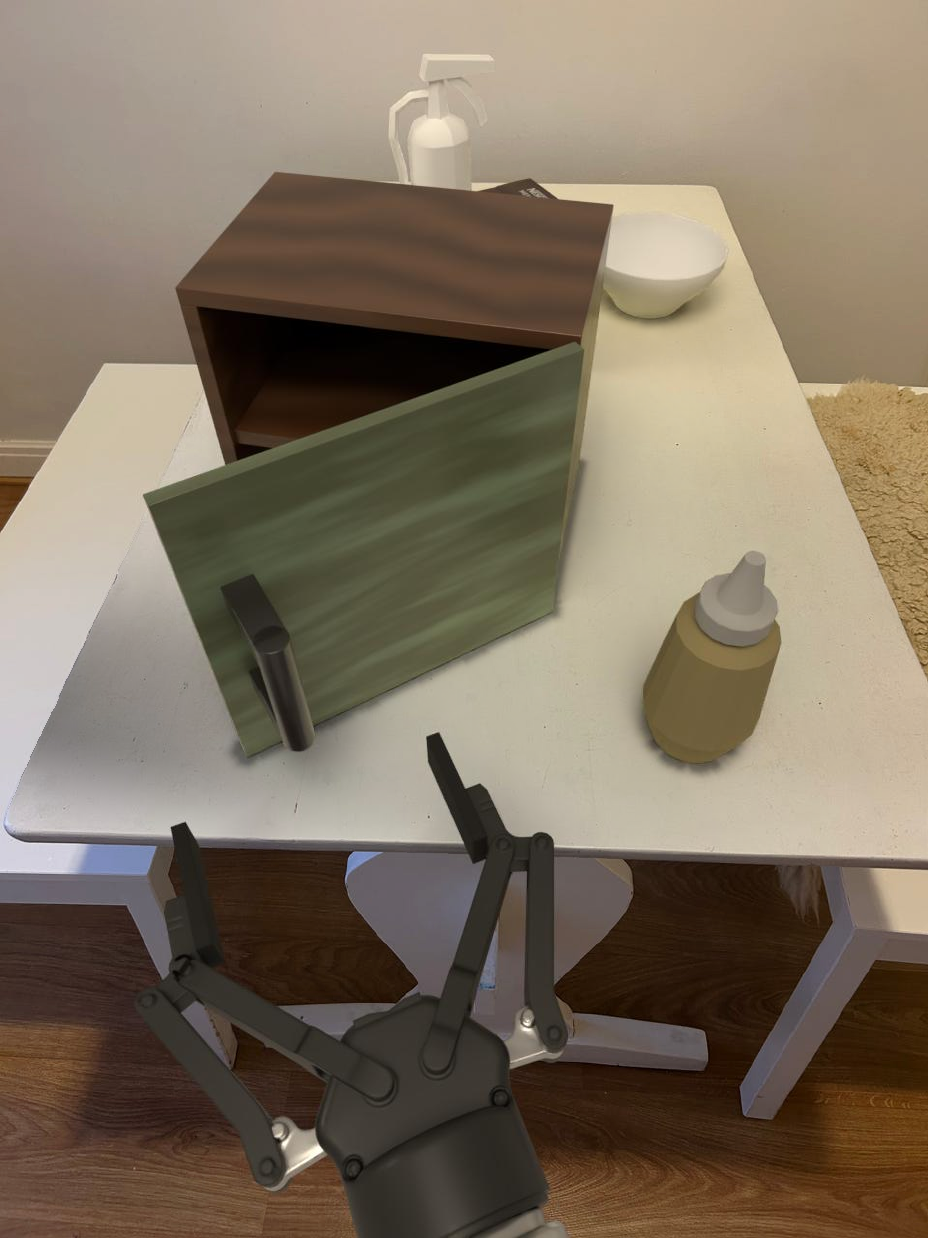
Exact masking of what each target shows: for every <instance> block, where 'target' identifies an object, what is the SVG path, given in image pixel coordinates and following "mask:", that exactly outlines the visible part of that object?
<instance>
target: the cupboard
mask: <svg viewBox="0 0 928 1238" xmlns="http://www.w3.org/2000/svg"><path fill="white" fill-rule="evenodd" d="M479 191H480V190H472V191H469V190H459V189H448V188H438V187H428V186H417V185H411V184H409V185H407V184H400V183H396V182H386V181H375V180H364V179H355V178H343V177H334V176H323V175H314V174H313V175H312V174H301V173H294V172H293V173H292V172H284V171H283V172H281V171H274V172H273V173H272V175H270V177H269V178H268V179H267V180H266V181H265V183H263V185H262V186H261V187H260V189H258V191H257V192H256V193H255V194H254V195H253V197H252V198H251V199H250V200H249V201H248V202H247V204H245V206H244V207H243V208H242V209H241V211H239V212H238V214H237V215H236V216H235V217H234V218H233V220H232V221H231V222H230V223H229V224H228V225H227V226H226V228H224V230H223V231H222V233H221V234H219V236H218V237H217V238H216V239H215V241H214V242H213V243H212V244H211V245H210V246H209V247H208V249H207V250H206V251H205V252H204V254H202V255H201V256H200V258H199V259H198V260H197V261H196V262H195V264H194V265H193V266H192V267H191V268H190V269H189V270H188V272H187V273H186V274H185V275H184V277H182V279H181V280H180V281H179V282H178V284H177V285H176V286H175V287H174V289H175V292H176V296H177V299H178V303H179V307H180V311H181V313H182V317H183V321H184V324H185V329H186V332H187V335H188V338H189V342H190V346H191V350H192V353H193V357H194V359H195V363H196V367H197V371H198V374H199V377H200V380H201V385H202V388H203V391H204V395H205V399H206V402H207V406H208V409H209V413H210V415H211V416H210V417H211V421H212V424H213V427H214V432H215V434H216V437H217V441H218V445H219V448H220V452H221V455H222V458H223V462H224V465H227V464H230V463H233V462H236V461H239V460H241V459H244V458H247V457H250V456H253V455H256V454H258V453H261V452H264V451H267V450H270V449H273V448H275V447H278V446H281V445H284V444H287V443H290V442H292V441H295V440H298V439H301V438H304V437H306V436H309V435H312V434H315V433H318V432H321V431H323V430H326V429H329V428H332V427H335V426H338V425H340V424H343V423H346V422H349V421H352V420H355V419H357V418H360V417H363V416H366V415H369V414H372V413H374V412H377V411H380V410H383V409H386V408H389V407H391V406H394V405H397V404H400V403H403V402H406V401H408V400H411V399H414V398H417V397H420V396H423V395H425V394H428V393H431V392H434V391H437V390H440V389H442V388H445V387H448V386H451V385H454V384H456V383H459V382H462V381H465V380H468V379H471V378H473V377H476V376H479V375H482V374H485V373H488V372H490V371H493V370H496V369H499V368H502V367H505V366H507V365H510V364H513V363H516V362H519V361H522V360H524V359H527V358H530V357H533V356H536V355H539V354H541V353H544V352H547V351H550V350H553V349H556V348H558V347H561V346H564V345H567V344H570V343H573V342H576V343H577V344H579V345H580V346H581V347H582V348H584V358H583V366H582V375H581V383H580V391H579V399H578V407H577V415H576V423H575V432H574V440H573V448H572V456H571V464H570V472H569V480H568V489H567V497H566V505H565V513H564V521H563V529H562V537H561V546H560V554H559V560H560V559H561V553H562V549H563V544H564V539H565V536H566V535H565V534H566V531H567V524H568V520H569V516H570V512H571V511H570V510H571V505H572V500H573V497H574V496H573V495H574V491H575V486H576V480H577V476H578V472H579V467H580V461H581V453H582V447H583V440H584V432H585V425H586V424H585V423H586V416H587V408H588V401H589V393H590V386H591V379H592V371H593V363H594V356H595V349H596V342H597V341H596V340H597V335H598V334H597V333H598V327H599V318H600V311H601V303H602V298H603V297H602V296H603V290H604V288H603V282H604V274H605V267H606V259H607V252H608V244H609V237H610V229H611V221H612V216H613V213H614V204H612V203H604V202H603V203H601V202H593V201H592V202H591V201H581V200H571V199H563V198H561V199H560V198H558V199H552V198H541V197H531V196H521V195H510V194H500V193H490V192H479ZM559 562H560V561H559ZM559 562H558V564H559Z"/></svg>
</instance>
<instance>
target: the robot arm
mask: <svg viewBox="0 0 928 1238" xmlns="http://www.w3.org/2000/svg"><path fill="white" fill-rule="evenodd" d="M425 740H426V741H425V742H426V754H427V763H428V766H429V768H430V771H431V772H432V775H433V778H434V779H435V782H436V783H437V786H438V788H439V791H440V793H441V795H442V797H443V799H444V802H445V804H446V806H447V808H448V811H449V813H450V816H451V818H452V820H453V822H454V824H455V827H456V829H457V831H458V834H459V836H460V838H461V840H462V842H463V845H464V847H465V850H466V851H467V854H468V856H469V858H470V861H471V863H472V865H475V864H477V863H480V862H483V861H484V865H483V867H482V870H481V873H480V876H479V879H478V883H477V886H476V888H475V892H474V895H473V898H472V901H471V905H470V907H469V911H468V913H467V917H466V920H465V923H464V926H463V930H462V933H461V936H460V939H459V943H458V946H457V947H456V948H457V949H456V952H455V955H454V958H453V961H452V964H451V965H450V968H449V970H448V973H447V976H446V979H445V982H444V985H443V989H442V992H441V994H440V997H439V996H436V995H432V994H421V992H420V991H418V992H415V993H413V994H411V995H409V996H406V997H404V998H402V999H401V1000H400V1001H398V1002H397V1003H396V1004H395V1005H393V1006H392V1007H391V1008H389V1009H388V1010H385V1011H377V1012H370V1013H367V1014H365V1015H362V1016H360V1017H357V1018H356V1019H352V1023H353V1024H352V1025H351V1026H349V1028H348V1029H347V1030H346V1031H345V1032H344V1034H343V1035H342V1037H341V1039H340V1040H339V1039H337V1038H336V1037H334V1036H332V1035H330V1034H329V1033H327V1032H325V1031H323V1030H322V1029H320V1028H318V1027H316V1026H314V1025H310V1024H308V1023H306V1022H305V1021H302V1020H301V1019H299V1018H298V1017H296V1016H294V1015H292V1014H291V1013H289V1012H288V1011H285V1010H284V1009H283V1008H280V1007H279V1006H277V1005H276V1004H275V1003H272V1002H271V1001H269V1000H267V999H266V998H264V997H262V996H261V995H259V994H257V993H255V992H254V991H252V990H250V989H248V988H247V987H245V986H243V984H240V983H239V982H236V981H235V980H233V979H231V977H230V978H229V977H228V976H226V975H225V974H223V973H221V972H219V971H218V970H216V969H215V968H217V967H220V966H221V965H225V964H226V959H225V956H224V955H225V954H224V951H223V946H222V942H221V938H220V932H219V928H218V924H217V919H216V914H215V911H214V905H213V901H212V897H211V893H210V889H209V883H208V879H207V875H206V871H205V866H204V862H203V858H202V853H201V852H202V851H201V849H200V844H199V843H198V841H197V839H196V838H195V835H194V834H193V832H192V830H191V828H190V827H189V825H188V823H187V822H186V821H183V822H180V823H178V824H175V825H172V826H170V831H171V832H170V833H171V837H172V842H173V846H174V853H175V856H176V862H177V866H178V871H179V875H180V876H179V877H180V881H181V887H182V890H183V894H181V895H179V896H176V897H173V898H171V899H168V900H165V905H164V910H163V915H164V921H165V926H166V932H167V937H168V942H169V947H170V953H171V959H170V962H169V963H168V972H169V973H168V974H167V976H165V977H164V978H163V979H162V980H161V981H160V982H158V983H157V984H156V985H154V986H149V987H146V988H144V989H142V990H141V991H140V992H139V993H138V994H137V996H136V997H135V1000H134V1009H135V1012H136V1013H137V1014H138V1016H139V1017H140V1018H141V1019H142V1020H143V1022H144V1023H145V1024H146V1025H147V1026H148V1028H150V1030H152V1032H153V1034H154V1035H155V1036H156V1037H157V1039H159V1040H160V1042H161V1043H162V1044H163V1045H164V1046H165V1048H166V1049H167V1050H168V1051H169V1052H170V1053H171V1054H172V1056H173V1057H174V1058H175V1059H176V1061H177V1062H178V1063H179V1064H180V1065H181V1067H182V1068H183V1069H184V1070H185V1071H186V1073H187V1074H188V1075H189V1076H190V1078H191V1079H193V1081H194V1082H195V1083H196V1084H197V1085H198V1087H199V1088H200V1089H201V1090H202V1092H203V1093H204V1094H205V1095H206V1096H207V1097H208V1099H209V1100H210V1101H211V1103H213V1104H214V1105H215V1107H216V1108H217V1109H218V1111H220V1113H221V1114H222V1116H224V1118H225V1119H226V1120H227V1121H228V1122H229V1124H230V1125H231V1126H232V1127H233V1128H234V1130H236V1132H237V1133H238V1135H239V1139H240V1141H241V1144H242V1148H243V1150H244V1153H245V1157H246V1160H247V1163H248V1165H249V1170H250V1171H251V1176H252V1177H253V1179H254V1181H255V1183H257V1185H260V1186H261V1187H262V1188H264V1189H266V1190H267V1191H269V1192H270V1193H273V1194H280V1193H282V1192H285V1191H286V1189H288V1188H289V1187H290V1185H291V1183H292V1181H293V1177H294V1176H296V1175H298V1174H299V1173H301V1172H302V1171H305V1170H306V1169H308V1168H309V1167H310V1166H312V1165H314V1164H315V1163H317V1162H318V1161H320V1160H321V1159H323V1158H325V1157H329V1158H330V1159H331V1160H332V1162H333V1164H334V1165H335V1167H336V1169H337V1171H338V1174H339V1176H340V1180H341V1183H342V1186H343V1190H344V1193H345V1198H346V1201H347V1205H348V1208H349V1212H350V1217H351V1220H352V1223H353V1228H354V1231H355V1235H356V1238H571V1237H570V1235H569V1233H568V1231H567V1228H566V1225H565V1224H564V1223H563V1222H560V1221H558V1220H557V1219H555V1220H553V1221H550V1222H547V1219H546V1217H545V1214H544V1211H543V1209H542V1208H544V1207H545V1206H547V1204H548V1203H549V1200H550V1199H549V1197H548V1194H549V1193H550V1192H551V1187H550V1185H549V1182H548V1180H547V1177H546V1175H545V1172H544V1170H543V1167H542V1165H541V1161H540V1160H539V1157H538V1155H537V1152H536V1150H535V1147H534V1145H533V1142H532V1140H531V1138H530V1135H529V1132H528V1130H527V1127H526V1124H525V1122H524V1120H523V1117H522V1114H521V1112H520V1110H519V1107H518V1105H517V1101H516V1099H515V1097H514V1094H513V1091H512V1087H511V1081H510V1070H513V1069H515V1068H518V1067H522V1066H525V1065H527V1064H531V1063H533V1062H537V1061H539V1060H542V1061H543V1062H544V1063H545V1062H546V1063H547V1064H553V1063H556V1062H558V1061H560V1059H561V1058H562V1057H563V1054H564V1051H565V1048H566V1046H567V1043H568V1040H569V1032H568V1027H567V1025H566V1022H565V1019H564V1015H563V1013H562V1010H561V1007H560V1004H559V1001H558V998H557V995H556V992H555V842H554V841H555V840H554V838H553V837H552V836H551V835H550V834H549V833H547V832H544V831H538V832H535V833H533V834H532V836H517V835H513V833H510V831H508V829H507V828H506V825H505V824H504V820H503V819H502V817H501V814H500V813H499V811H498V809H497V807H496V805H495V803H494V801H493V799H492V797H491V794H490V792H489V790H488V789H487V788H486V787H485V786H484V785H483V784H481V783H480V782H479V783H477V784H474V785H471V786H468V787H465V784H464V783H463V780H462V778H461V776H460V774H459V771H458V769H457V767H456V765H455V763H454V761H453V758H452V756H451V754H450V752H449V750H448V748H447V745H446V743H445V742H444V739H443V737H442V735H441V733H440V731H438V732H435V733H432V734H429V735H427V736H425ZM520 872H521V873H522V872H523V873H524V872H526V884H525V885H526V887H525V888H526V889H525V890H526V891H525V899H526V900H525V935H524V936H525V937H524V977H523V979H524V980H523V981H524V982H523V985H524V986H523V1001H524V1002H523V1006H521V1007H519V1008H518V1009H517V1010H516V1012H515V1014H514V1017H513V1024H512V1026H513V1029H512V1030H513V1031H512V1032H511V1035H510V1036H509V1037H508V1038H506V1039H504V1040H503V1039H502V1038H501V1037H500V1036H499V1035H498V1034H497V1033H495V1032H494V1031H492V1030H490V1029H489V1028H487V1027H485V1026H484V1025H482V1024H481V1023H479V1022H478V1021H476V1020H475V1019H473V1018H472V1017H471V1015H472V1012H473V1009H474V1005H475V1002H476V999H477V994H478V989H479V985H480V982H481V980H482V979H481V978H482V975H483V972H484V969H485V965H486V962H487V959H488V955H489V951H490V948H491V945H492V941H493V937H494V934H495V931H496V927H497V924H498V921H499V917H500V914H501V911H502V907H503V904H504V901H505V898H506V895H507V894H506V893H507V890H508V887H509V884H510V880H511V876H512V875H513V873H520ZM195 1002H196V1003H198V1004H199V1005H201V1006H203V1007H204V1008H205V1009H207V1010H209V1011H211V1012H213V1013H214V1014H215V1015H218V1016H219V1017H221V1018H223V1019H224V1020H225V1021H226V1022H229V1023H231V1024H232V1025H234V1026H236V1027H237V1028H238V1029H240V1030H242V1031H244V1032H245V1033H247V1034H249V1035H251V1036H252V1037H253V1038H255V1039H257V1040H258V1041H260V1042H262V1043H264V1044H266V1045H267V1046H268V1047H270V1048H271V1049H273V1050H275V1051H276V1052H278V1053H279V1054H281V1055H283V1056H284V1057H286V1058H288V1059H290V1060H291V1061H293V1062H295V1063H296V1064H298V1065H299V1066H301V1067H302V1068H304V1069H305V1070H306V1071H308V1072H309V1073H310V1074H312V1075H313V1076H315V1077H317V1078H318V1079H320V1080H322V1082H325V1083H326V1085H325V1088H324V1091H323V1094H322V1098H321V1101H320V1105H319V1108H318V1112H317V1114H316V1118H315V1123H314V1127H313V1128H310V1129H305V1130H304V1129H301V1128H300V1127H298V1125H297V1124H296V1123H295V1122H294V1121H293V1119H291V1118H290V1117H288V1116H284V1115H283V1116H282V1115H281V1116H277V1117H276V1118H274V1119H273V1118H272V1117H271V1115H270V1113H269V1112H268V1110H267V1109H265V1108H264V1106H263V1105H262V1104H261V1102H259V1101H258V1099H257V1098H256V1097H255V1096H254V1095H253V1093H252V1092H250V1090H249V1089H248V1088H247V1087H246V1086H245V1084H244V1083H243V1082H242V1081H241V1080H240V1079H239V1078H238V1077H237V1075H236V1074H235V1073H234V1072H233V1071H232V1070H231V1069H230V1068H229V1066H227V1064H226V1063H225V1062H224V1061H223V1059H222V1058H221V1057H220V1056H219V1054H218V1053H217V1052H215V1050H214V1049H213V1048H212V1046H211V1045H209V1043H208V1042H207V1041H206V1040H205V1039H204V1038H203V1036H202V1035H201V1034H200V1033H199V1032H198V1031H197V1029H196V1028H195V1027H193V1025H192V1024H191V1023H190V1022H189V1020H188V1019H187V1018H186V1017H185V1016H184V1015H183V1014H182V1013H183V1012H185V1010H187V1009H188V1008H189V1007H191V1005H193V1004H194V1003H195Z"/></svg>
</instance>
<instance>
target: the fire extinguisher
mask: <svg viewBox="0 0 928 1238" xmlns="http://www.w3.org/2000/svg"><path fill="white" fill-rule="evenodd" d="M495 62H496V61H495V59H494V58H493V57H492V56H491V55H490V54H478V53H477V54H473V53H472V54H468V53H466V54H460V53H459V54H458V53H455V54H453V53H445V54H444V53H422V57H421V62H420V68H419V73H418V77H419V78H420V79H421V80H422V82H423V83H425V84H426V85H425V89H419V90H411V91H408V93H406V94H405V95H404V96H402V97H401V98H400V99H399V100H397V102H395V103H394V104H393V105H392V106H391V107H390V108H389V115H388V116H389V118H388V135H387V136H388V137H387V139H388V142H389V145H390V149H391V153H392V157H393V159H394V163H395V166H396V170H397V175H398V181H399V184H407V185H417V186H428V187H438V188H448V189H459V190H469V191H473V187H472V186H473V185H472V161H471V159H472V154H471V131H470V129H469V127H468V125H467V123H466V121H465V119H463V118H461V117H460V116H458V115H457V114H454V113H452V112H450V106H449V102H448V96H447V90H446V85H445V81H446V82H447V83H449V84H450V85H452V86H453V87H454V88H455V89H456V90H457V91H459V92H460V93H461V94H462V95H463V97H465V99H466V100H467V101H468V102H469V104H470V105H471V107H472V111H473V113H474V116H475V120H476V122H477V124H478V125H479V127H480V128H481V127H483V125H484V124H486V122H487V121H488V120H489V119H488V114H487V111H486V107H485V106H484V105H485V104H484V102H483V100H482V98H481V97H480V95H479V94H478V92H477V91H476V90H475V89H474V87H473V86H472V85H471V83H469V81H468V80H466V79H465V77H470V76H479V75H486V74H493V73H495V72H496V71H495V70H496V66H495ZM420 102H424V114H422V115H420V116H419V117H417V118H416V119H413V121H412V123H411V126H410V129H409V131H408V135H407V136H408V137H407V140H406V145H407V155H408V166H409V168H408V167H407V164H406V161H405V158H404V155H403V151H402V148H401V144H400V142H399V114H400V113H401V112H402V111H404V110H405V109H406V108H407V107H409V106H410V105H411V104H413V103H420ZM407 168H408V169H409V175H408V169H407ZM409 178H410V179H409ZM409 180H410V183H409Z"/></svg>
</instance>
